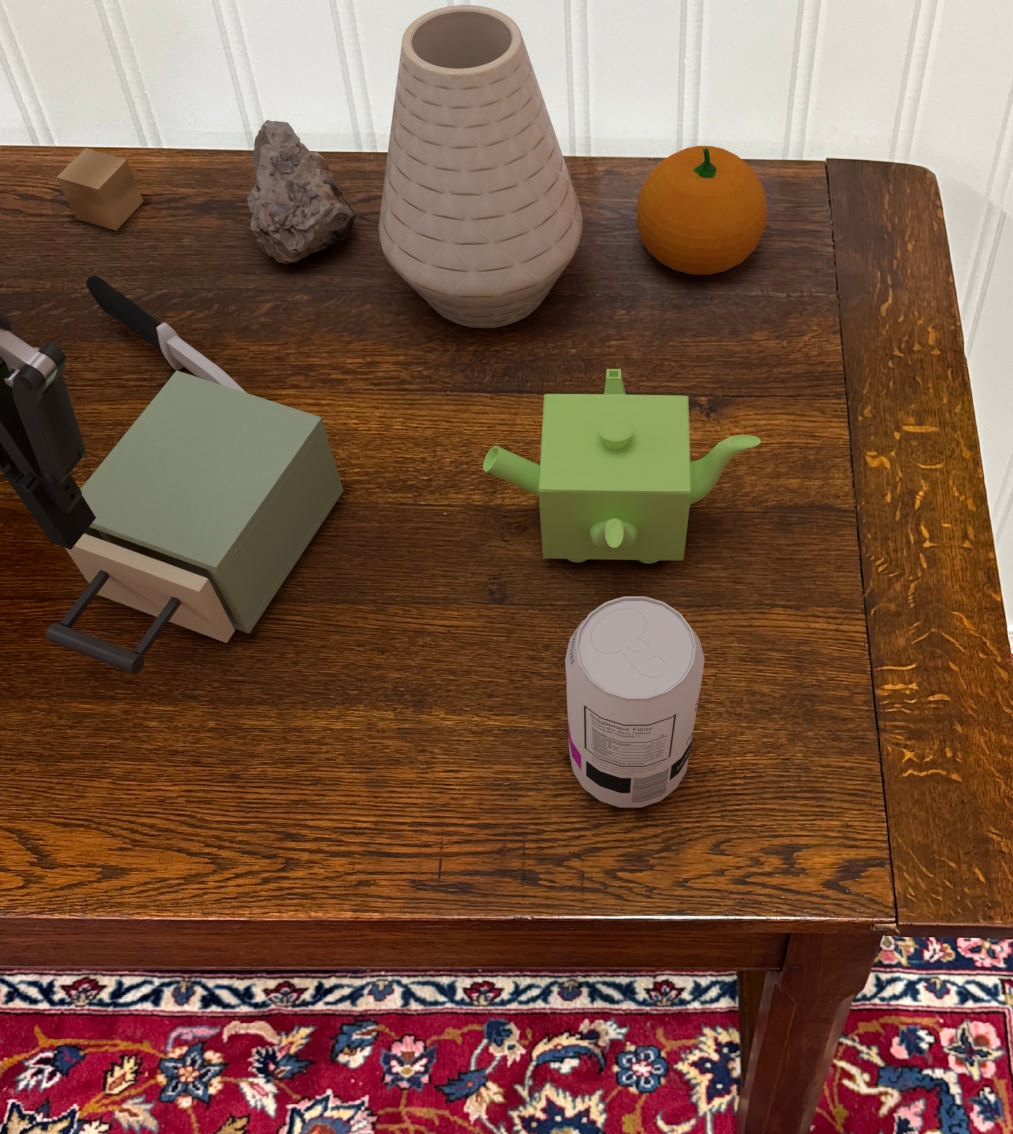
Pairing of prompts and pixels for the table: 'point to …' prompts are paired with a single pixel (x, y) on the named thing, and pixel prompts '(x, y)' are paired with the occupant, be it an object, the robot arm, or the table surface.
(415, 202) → the vase
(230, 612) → the cabinet
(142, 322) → the knife
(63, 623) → the drawer
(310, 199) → the rock
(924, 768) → the table surface
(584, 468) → the kettle
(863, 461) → the table surface
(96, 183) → the block
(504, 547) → the table surface
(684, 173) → the fruit
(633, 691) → the supplement can
